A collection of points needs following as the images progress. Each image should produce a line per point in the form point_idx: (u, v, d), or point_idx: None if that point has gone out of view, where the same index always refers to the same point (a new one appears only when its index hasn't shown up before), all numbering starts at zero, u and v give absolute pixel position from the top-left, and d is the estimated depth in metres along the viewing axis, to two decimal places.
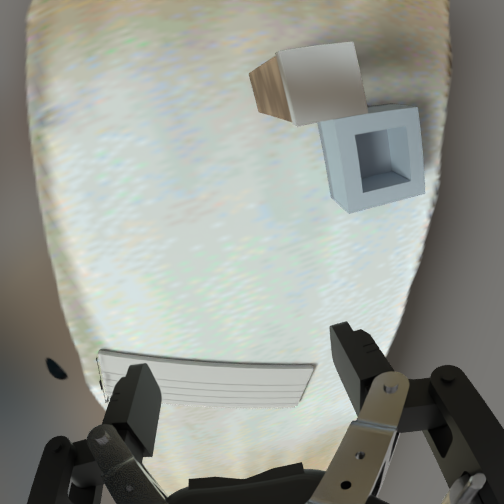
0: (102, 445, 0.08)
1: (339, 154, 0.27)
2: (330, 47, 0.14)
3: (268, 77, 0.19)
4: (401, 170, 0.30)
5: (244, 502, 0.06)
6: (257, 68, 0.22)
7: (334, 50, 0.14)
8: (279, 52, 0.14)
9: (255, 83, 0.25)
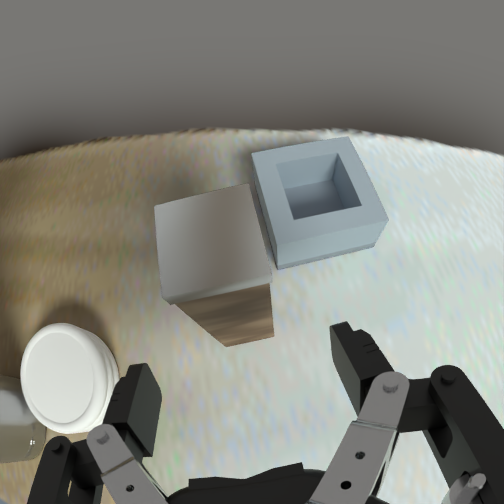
0: (102, 445, 0.08)
1: (320, 236, 0.24)
2: (160, 232, 0.13)
3: (216, 319, 0.17)
4: (328, 166, 0.28)
5: (244, 502, 0.06)
6: (212, 334, 0.20)
7: (164, 227, 0.13)
8: (164, 297, 0.12)
9: (235, 338, 0.23)
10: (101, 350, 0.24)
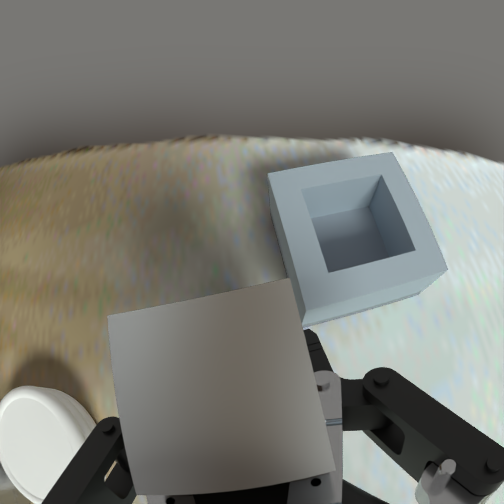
0: None
1: (363, 295, 0.17)
2: (121, 375, 0.06)
3: None
4: (367, 191, 0.21)
5: (244, 502, 0.06)
6: None
7: (127, 366, 0.06)
8: (140, 493, 0.05)
9: None
10: (81, 423, 0.17)
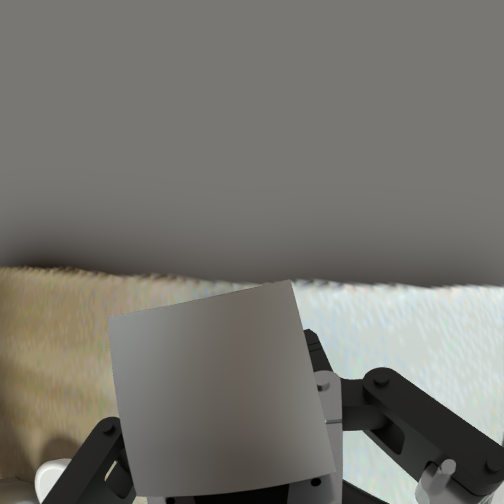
0: None
1: None
2: (121, 377, 0.06)
3: None
4: None
5: (244, 502, 0.06)
6: None
7: (128, 368, 0.06)
8: (141, 494, 0.05)
9: None
10: None
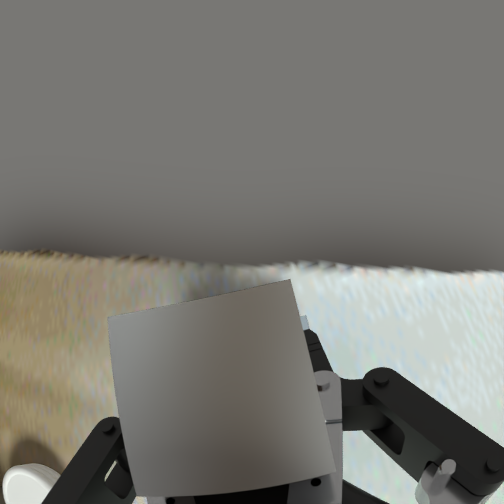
0: None
1: None
2: (121, 376, 0.06)
3: None
4: None
5: (244, 502, 0.06)
6: None
7: (127, 368, 0.06)
8: (141, 494, 0.05)
9: None
10: None
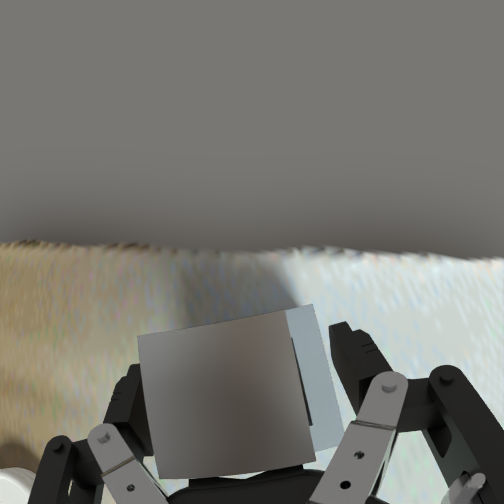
0: (103, 445, 0.08)
1: None
2: (149, 384, 0.08)
3: None
4: None
5: (244, 502, 0.06)
6: None
7: (154, 377, 0.08)
8: (162, 477, 0.07)
9: None
10: None
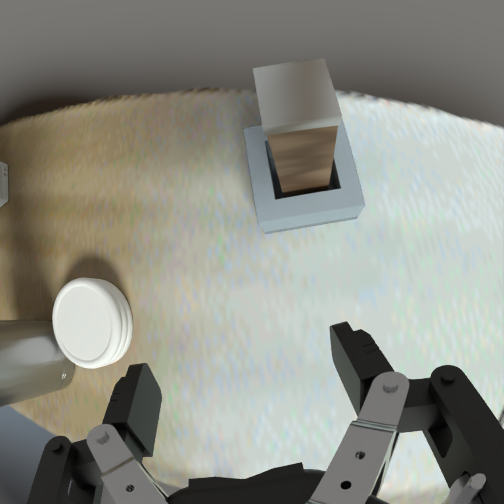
0: (102, 445, 0.08)
1: (297, 216, 0.26)
2: (259, 85, 0.16)
3: (290, 161, 0.21)
4: None
5: (244, 502, 0.06)
6: (280, 181, 0.25)
7: (262, 82, 0.16)
8: (263, 127, 0.16)
9: (296, 192, 0.28)
10: (117, 300, 0.31)
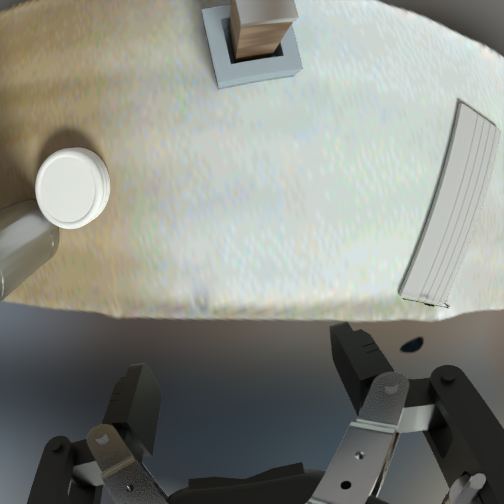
0: (102, 445, 0.08)
1: (248, 76, 0.30)
2: None
3: (250, 39, 0.23)
4: None
5: (244, 502, 0.06)
6: (237, 51, 0.27)
7: None
8: (241, 22, 0.19)
9: (246, 57, 0.30)
10: (95, 160, 0.34)
